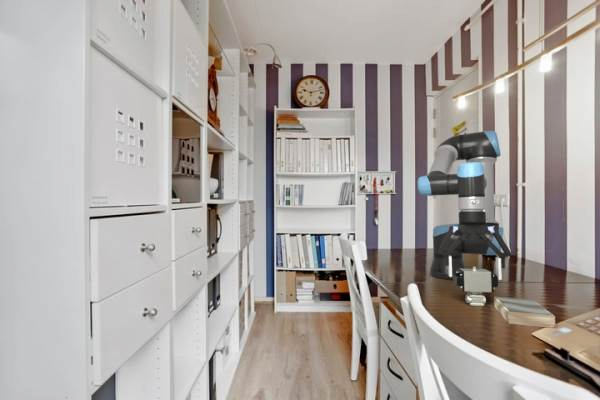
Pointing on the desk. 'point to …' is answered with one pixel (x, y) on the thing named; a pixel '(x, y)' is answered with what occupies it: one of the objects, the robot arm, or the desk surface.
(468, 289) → the pneumatic valve
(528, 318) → the book
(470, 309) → the desk surface
